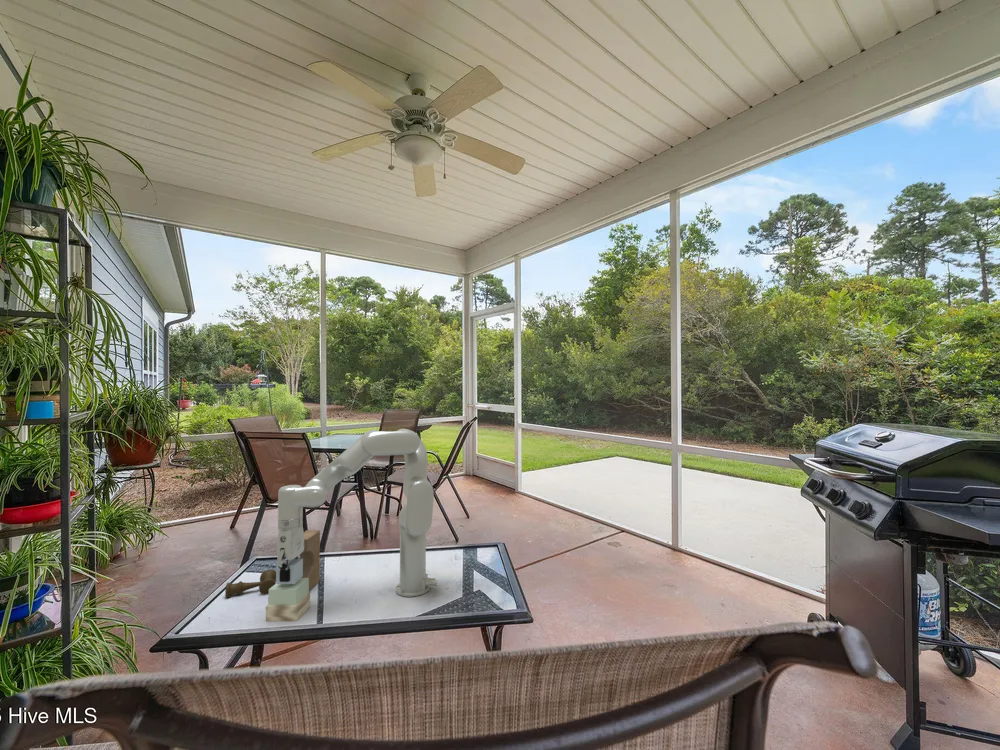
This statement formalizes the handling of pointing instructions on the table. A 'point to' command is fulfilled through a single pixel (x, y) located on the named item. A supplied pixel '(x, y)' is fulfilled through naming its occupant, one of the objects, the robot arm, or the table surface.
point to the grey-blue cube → (291, 571)
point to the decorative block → (311, 557)
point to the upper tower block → (288, 593)
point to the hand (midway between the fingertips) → (289, 576)
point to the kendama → (253, 584)
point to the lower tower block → (287, 610)
